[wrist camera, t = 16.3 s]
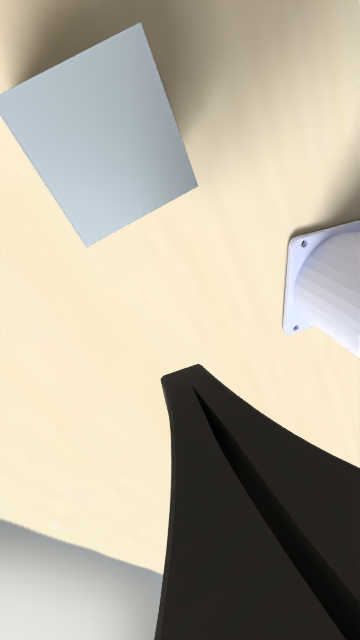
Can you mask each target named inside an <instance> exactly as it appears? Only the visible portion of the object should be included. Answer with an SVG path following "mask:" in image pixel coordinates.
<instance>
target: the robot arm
mask: <svg viewBox="0 0 360 640" xmlns="http://www.w3.org/2000/svg"><path fill="white" fill-rule="evenodd" d="M303 241H304V243H303V245H301V244H302V242H303ZM294 326H295V327H294ZM313 326H316V327H317V328H318V329H320V330H321V331H323V332H324V333H325V334H327V335H328V336H329V337H331V338H332V339H333V340H335V341H336V342H338V343H339V344H340V345H342V346H343V347H344V348H346V349H347V350H348V351H350V352H351V353H353V354H354V355H355V356H357V357H358V358H359V359H360V220H358V221H354V222H350V223H346V224H343V225H339V226H335V227H331V228H327V229H324V230H320V231H316V232H312V233H308V234H305V235H301V236H297V237H294V238H293V239H292V240H291V241H290V243H289V248H288V262H287V276H286V290H285V303H284V317H283V332H284V333H285V334H287V335H289V334H292V333H295V332H298V331H301V330H304V329H307V328H310V327H313ZM161 384H162V388H163V392H164V397H165V401H166V405H167V410H168V414H169V419H170V430H171V498H170V513H169V527H168V538H167V549H166V557H165V566H164V574H163V582H162V591H161V598H160V606H159V613H158V620H157V626H156V632H155V639H154V640H360V468H358V467H356V466H354V465H352V464H350V463H348V462H346V461H344V460H342V459H340V458H338V457H335V456H333V455H331V454H330V453H328V452H326V451H324V450H322V449H320V448H318V447H316V446H315V445H313V444H311V443H309V442H307V441H306V440H304V439H302V438H300V437H299V436H297V435H295V434H293V433H292V432H290V431H289V430H287V429H285V428H284V427H282V426H281V425H279V424H277V423H276V422H274V421H273V420H271V419H270V418H268V417H267V416H265V415H264V414H262V413H261V412H259V411H258V410H257V409H255V408H254V407H252V406H251V405H250V404H248V403H247V402H246V401H244V400H243V399H242V398H240V397H239V396H237V395H236V394H235V393H234V392H232V391H231V390H230V389H228V388H227V387H226V386H225V385H224V384H222V383H221V382H220V381H219V380H218V379H216V378H215V377H214V376H213V375H212V374H211V373H209V372H208V371H207V370H206V369H205V368H204V367H203V366H202V365H200V364H196V365H193V366H191V367H188V368H185V369H182V370H179V371H176V372H173V373H170V374H167V375H164V376H163V377H162V378H161Z"/></svg>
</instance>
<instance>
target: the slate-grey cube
mask: <svg viewBox="0 0 360 640" xmlns="http://www.w3.org/2000/svg"><path fill="white" fill-rule="evenodd" d="M0 116H1V117H2V119H3V120H4V122H5V123H6V125H7V126H8V128H9V130H10V131H11V133H12V134H13V136H14V137H15V139H16V140H17V142H18V143H19V145H20V146H21V148H22V149H23V151H24V153H25V154H26V156H27V157H28V159H29V160H30V162H31V163H32V165H33V166H34V168H35V169H36V171H37V172H38V174H39V176H40V177H41V179H42V180H43V182H44V183H45V185H46V186H47V188H48V189H49V191H50V192H51V194H52V195H53V197H54V199H55V200H56V202H57V203H58V205H59V206H60V208H61V209H62V211H63V212H64V214H65V215H66V217H67V218H68V220H69V222H70V223H71V225H72V226H73V228H74V229H75V231H76V232H77V234H78V235H79V237H80V238H81V240H82V241H83V243H84V245H85V246H86V247H88V246H90V245H92V244H94V243H96V242H97V241H99V240H101V239H103V238H105V237H106V236H108V235H110V234H112V233H114V232H116V231H117V230H119V229H121V228H123V227H125V226H126V225H128V224H130V223H132V222H134V221H136V220H137V219H139V218H141V217H143V216H145V215H146V214H148V213H150V212H152V211H154V210H156V209H157V208H159V207H161V206H163V205H165V204H167V203H168V202H170V201H172V200H174V199H176V198H177V197H179V196H181V195H183V194H185V193H187V192H188V191H190V190H192V189H194V188H196V187H197V186H198V184H197V181H196V178H195V175H194V173H193V170H192V167H191V164H190V161H189V158H188V155H187V153H186V150H185V147H184V144H183V141H182V138H181V135H180V133H179V130H178V127H177V124H176V121H175V118H174V115H173V113H172V110H171V107H170V104H169V101H168V98H167V96H166V93H165V90H164V87H163V84H162V81H161V78H160V76H159V73H158V70H157V67H156V64H155V61H154V58H153V56H152V53H151V50H150V47H149V44H148V41H147V38H146V36H145V33H144V30H143V27H142V24H141V22H139V23H137V24H136V25H134V26H132V27H130V28H128V29H126V30H124V31H122V32H120V33H118V34H116V35H114V36H112V37H110V38H108V39H106V40H104V41H102V42H100V43H99V44H97V45H95V46H93V47H91V48H89V49H87V50H85V51H83V52H81V53H79V54H77V55H75V56H73V57H71V58H69V59H67V60H65V61H64V62H62V63H60V64H58V65H56V66H54V67H52V68H50V69H48V70H46V71H44V72H42V73H40V74H38V75H36V76H34V77H32V78H30V79H28V80H27V81H25V82H23V83H21V84H19V85H17V86H15V87H13V88H11V89H9V90H7V91H5V92H3V93H1V94H0Z"/></svg>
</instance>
